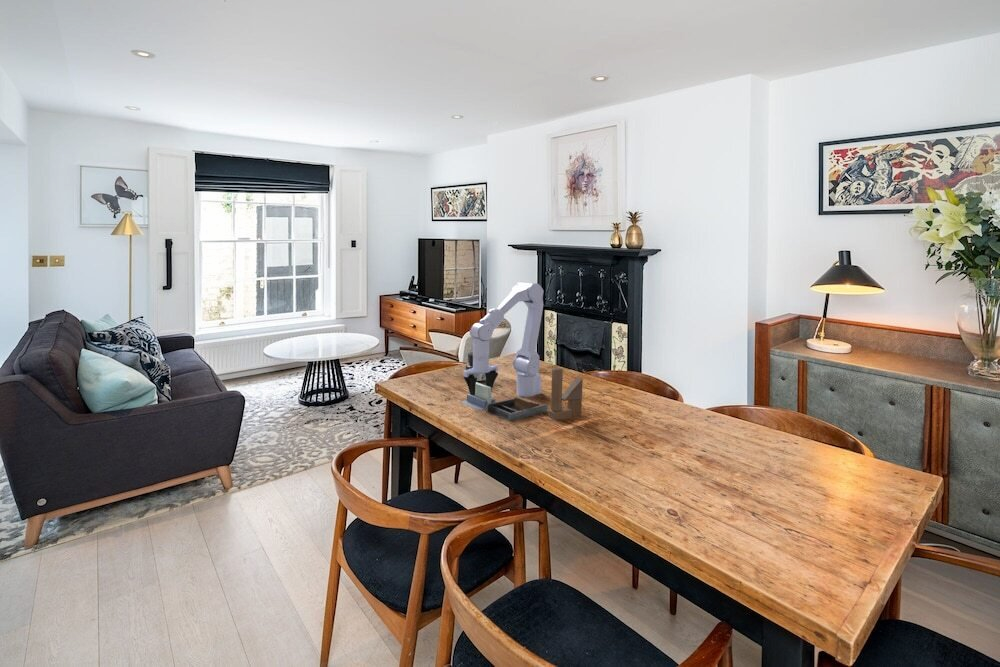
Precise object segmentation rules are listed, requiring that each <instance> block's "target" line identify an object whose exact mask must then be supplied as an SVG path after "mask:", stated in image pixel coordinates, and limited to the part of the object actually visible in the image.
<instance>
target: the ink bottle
mask: <svg viewBox="0 0 1000 667" xmlns="http://www.w3.org/2000/svg"><path fill="white" fill-rule="evenodd" d="M471 368H473V351H471V352H468V353H467V364H466V365H465V370H468V369H471ZM474 377H475V378H477V381H476V382H477V383H480V384H483V383H485V382H486V376H485V373H482V374H477V375H474Z"/></svg>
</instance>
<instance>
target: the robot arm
mask: <svg viewBox="0 0 1000 667" xmlns="http://www.w3.org/2000/svg"><path fill="white" fill-rule="evenodd" d="M543 297H544V289H543V287H542V286H541V285H540V284H539V283H535V282H534V283H532V282H525V281H518V282H517V283H516V284H515V286H513V287H512V289H511V292H510V293H509V294H508V295H507V296H506V297H505V299H503V301H502V302H501V303H500V304H499V306H498V307H497V308H492V309H489V310H488V311H487V312H488V313H487V314H486V315H485V316H484V317H483V318H481V319H480V320H479V322H475V323H474V324H473V325H471V327H470V330H469V331H468V332H469V335H470V337H471V338H472V339H471V341H472V352H473V368H471V369H468V370H466V369H465V370H462V377H463V379H464V381H465V383H466V385H467V388H468V391H469V394H470V395H473V396H474V395H475V385H476V381H477V378H475V377H474V375H477V374H482V373H485V376H486V381H485V382H486V384H485V385H486V386H488V387H491V393H492V391H493V387H494V383H495V381H496V379H497V377H498V375H499V373H498V372H499V365H495V364H494V365H490V339H491V338H492V336H493V334H494V331H495V329H497V328H498V327H499V325H500V324H501V323H502V322H504V320H505V314H507V313H508V312H509V311H510V310H511V309H512V308H513V307H515V305H517V304H518V303H519V302H520V303H521V302H524V303H523V304H525V305H526V306H527V308H528V309H527V314H526V320H525V326H524V332H523V337H522V338H523V339H522V344H521V347H520V349H518V350H517V351H516V353H515V354H516V355H515V357H514V359H513V361H512V367H513V369H514V371H515V373H516V395H517V397H520V396H525V398H526V397H527V398H529V397H530V398H531V397H534V396H536V395H540V394H542V381H543V380H542V376H541V374H540V373H539V370H540V367H541V364H540V357H541V356H540V355H539V354H538V352H537V344H538V338H539V334H540V333H539V332H540V329H541V323H542V316H543V310H544V309H543V308H544V300H543V299H544V298H543Z"/></svg>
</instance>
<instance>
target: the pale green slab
mask: <svg viewBox="0 0 1000 667" xmlns="http://www.w3.org/2000/svg"><path fill="white" fill-rule="evenodd" d="M474 396H475V397H478V398H480V399H483V400H486V401H487V404H491V398H492V392H491V387H488V386H486V384H483V383H477V382H476V385H475V395H474Z"/></svg>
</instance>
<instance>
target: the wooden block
mask: <svg viewBox="0 0 1000 667" xmlns="http://www.w3.org/2000/svg"><path fill="white" fill-rule="evenodd" d="M563 370H564V369H563V368H561V367H553V368H551V398H550V402H551V403H550V409H548V417H549V419H551V420H552V421H558V420H565V419H571V418H580V417H582V402H583V400H582V399H583V380H584V379H583V378H582V377H579V376H576V377H575V378H574V379H573V381H572V382H571V383H570V384H569V386H568V387H567V388H566V389H565V390H564V391H563V374H564V371H563ZM566 401H567V408H566V407H563V402H566Z"/></svg>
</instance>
